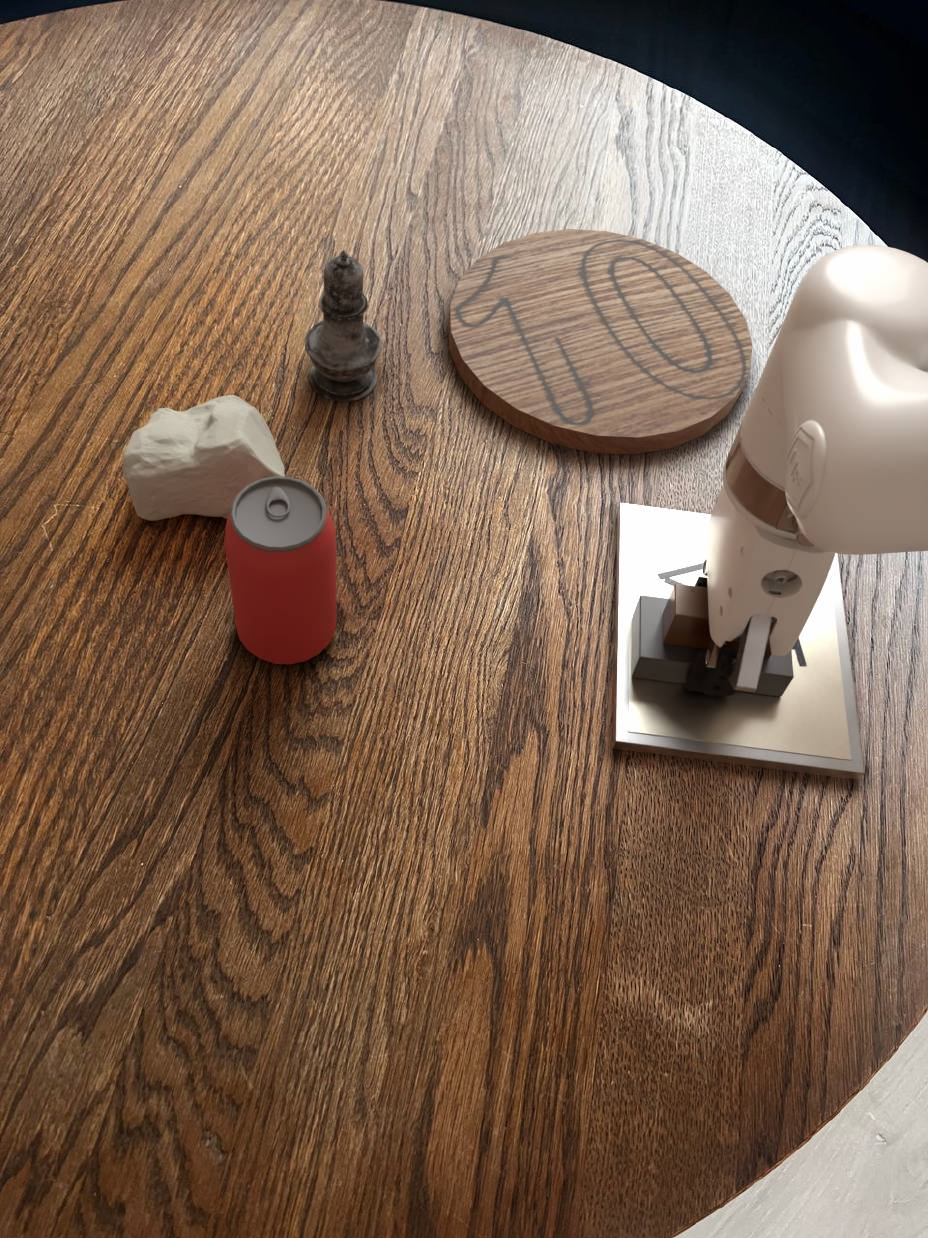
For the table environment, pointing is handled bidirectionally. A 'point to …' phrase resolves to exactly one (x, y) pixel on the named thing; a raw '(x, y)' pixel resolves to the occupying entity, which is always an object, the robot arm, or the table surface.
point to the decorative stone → (198, 459)
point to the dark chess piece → (343, 336)
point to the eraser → (689, 641)
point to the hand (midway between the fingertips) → (708, 651)
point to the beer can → (282, 569)
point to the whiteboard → (743, 722)
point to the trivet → (599, 341)
